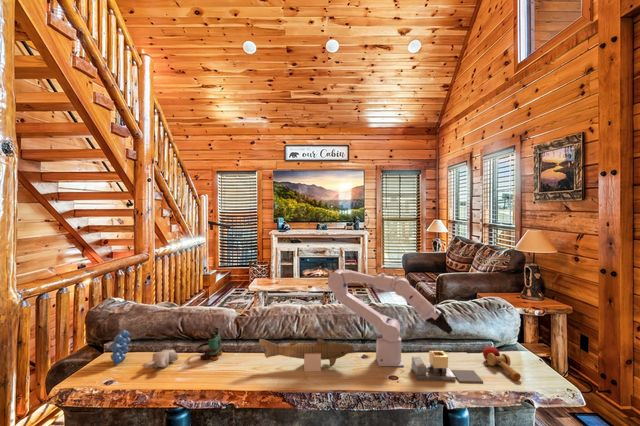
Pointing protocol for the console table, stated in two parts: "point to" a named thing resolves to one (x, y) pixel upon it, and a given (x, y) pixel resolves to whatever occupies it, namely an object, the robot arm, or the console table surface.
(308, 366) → the wood carving
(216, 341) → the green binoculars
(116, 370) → the console table surface
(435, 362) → the wooden hollow block
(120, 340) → the grapes
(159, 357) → the bunny figurine
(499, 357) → the kendama
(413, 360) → the gray fixture base
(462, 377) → the rubber mat
